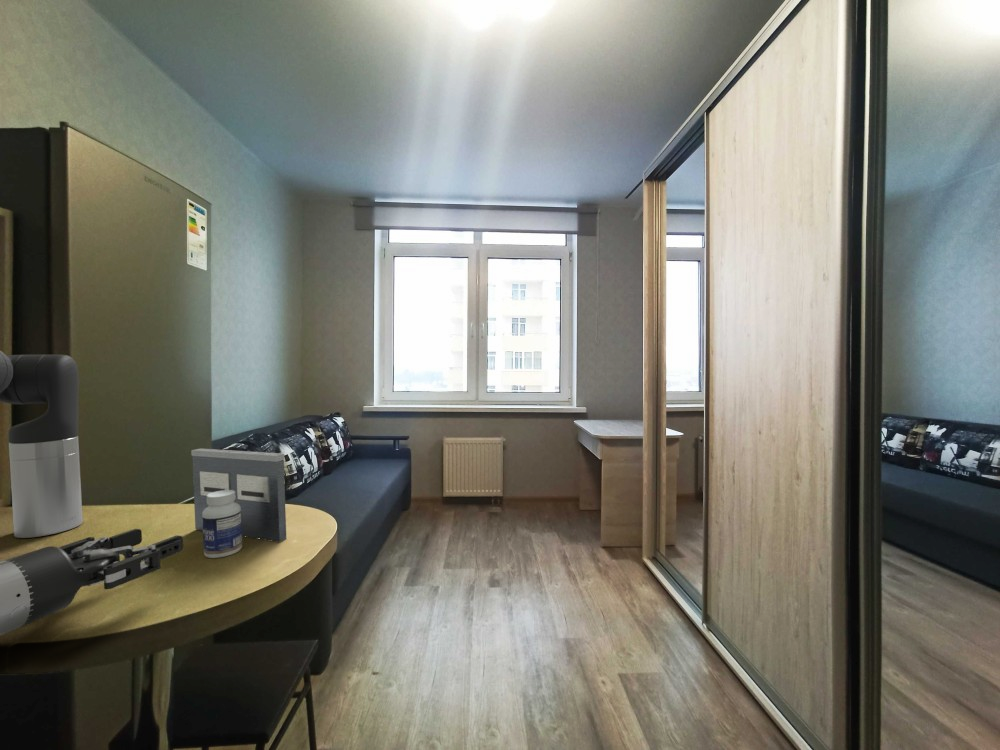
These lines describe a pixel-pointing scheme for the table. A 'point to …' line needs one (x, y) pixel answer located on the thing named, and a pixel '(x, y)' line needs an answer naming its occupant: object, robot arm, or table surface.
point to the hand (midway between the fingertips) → (160, 538)
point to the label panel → (244, 488)
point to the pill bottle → (222, 525)
